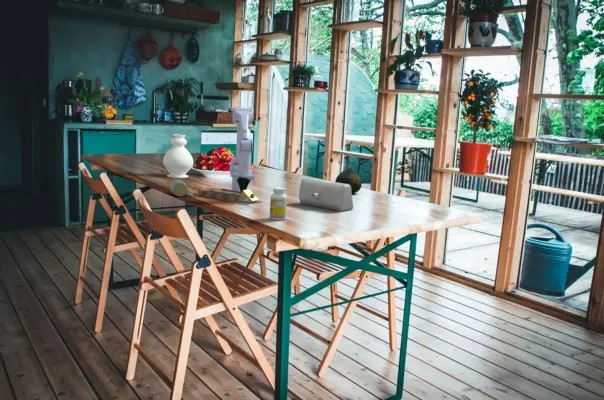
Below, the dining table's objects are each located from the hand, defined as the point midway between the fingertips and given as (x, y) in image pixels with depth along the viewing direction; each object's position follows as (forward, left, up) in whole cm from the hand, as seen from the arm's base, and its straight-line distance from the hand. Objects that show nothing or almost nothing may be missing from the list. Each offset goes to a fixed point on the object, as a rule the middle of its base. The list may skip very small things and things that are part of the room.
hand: (243, 193), depth 268 cm
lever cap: (0, +4, -1) cm, 4 cm away
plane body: (0, -12, -4) cm, 13 cm away
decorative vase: (-38, -77, -4) cm, 86 cm away
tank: (-18, +34, -4) cm, 38 cm away
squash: (-71, +21, -4) cm, 74 cm away
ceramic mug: (+11, -28, -4) cm, 31 cm away
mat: (0, +3, -4) cm, 5 cm away
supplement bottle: (+22, +35, -4) cm, 41 cm away
